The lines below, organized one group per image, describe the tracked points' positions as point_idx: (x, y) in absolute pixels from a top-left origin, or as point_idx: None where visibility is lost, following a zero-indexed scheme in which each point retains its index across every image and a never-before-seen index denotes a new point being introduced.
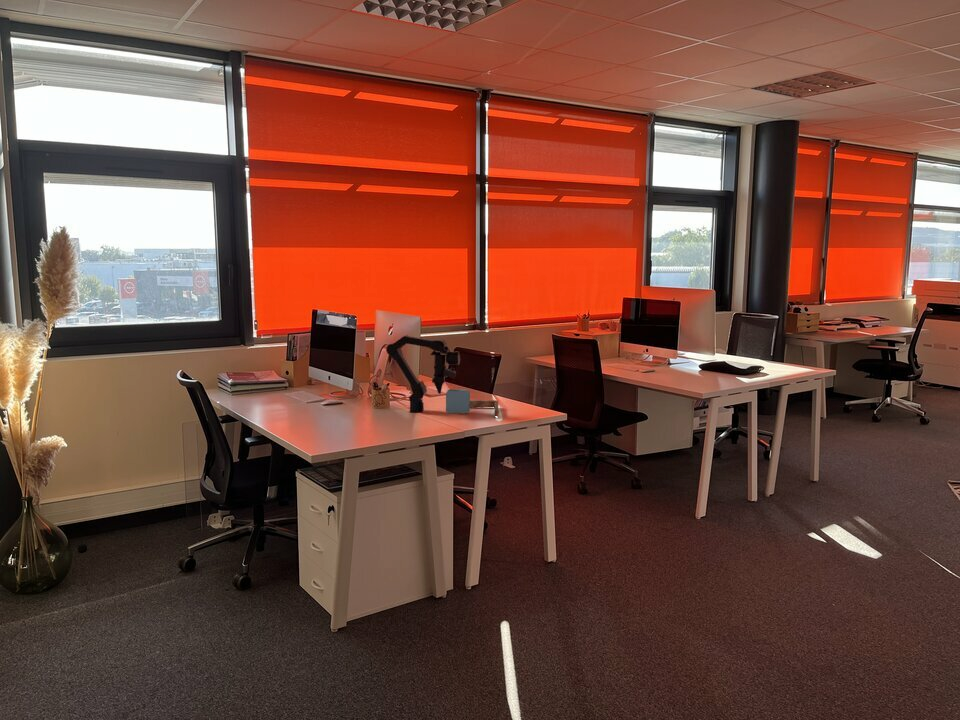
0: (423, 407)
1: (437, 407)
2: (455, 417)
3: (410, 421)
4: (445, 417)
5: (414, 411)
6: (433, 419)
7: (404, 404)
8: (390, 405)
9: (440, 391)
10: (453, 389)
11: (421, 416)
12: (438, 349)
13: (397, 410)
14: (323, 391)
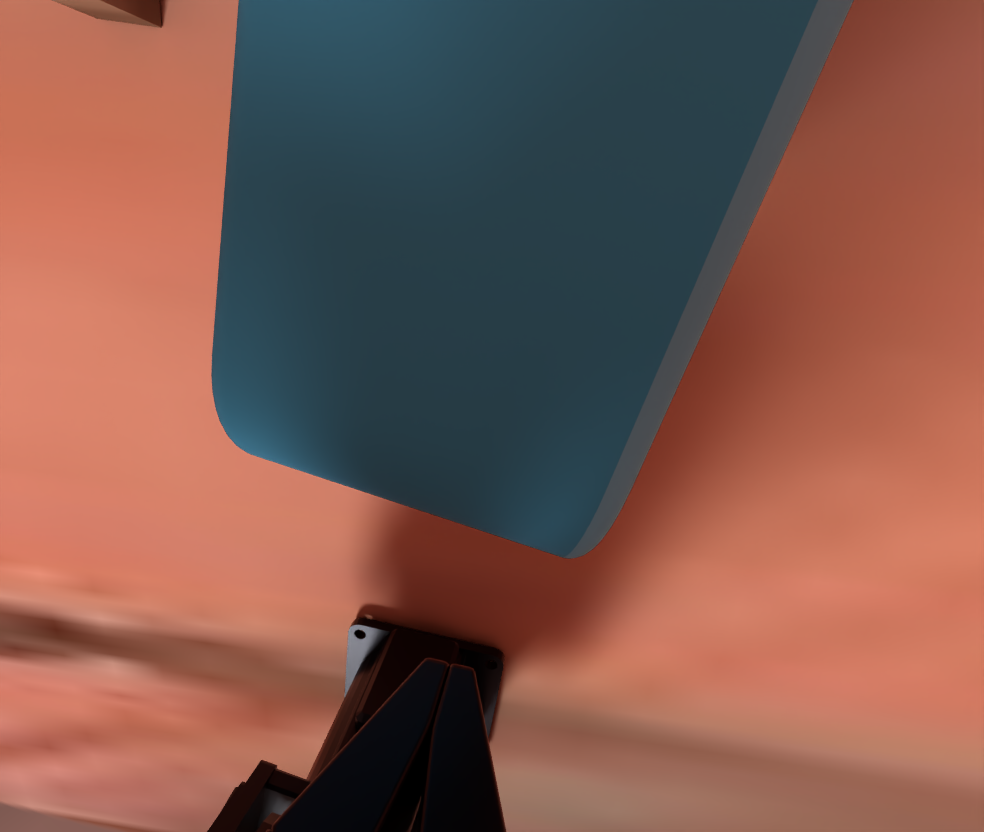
0: (411, 659)
1: (175, 428)
2: (964, 214)
3: (972, 818)
4: (895, 393)
5: (486, 724)
6: (972, 577)
7: (87, 727)
8: (156, 827)
9: (485, 739)
10: (259, 217)
11: (719, 679)
12: None
13: None
14: None
